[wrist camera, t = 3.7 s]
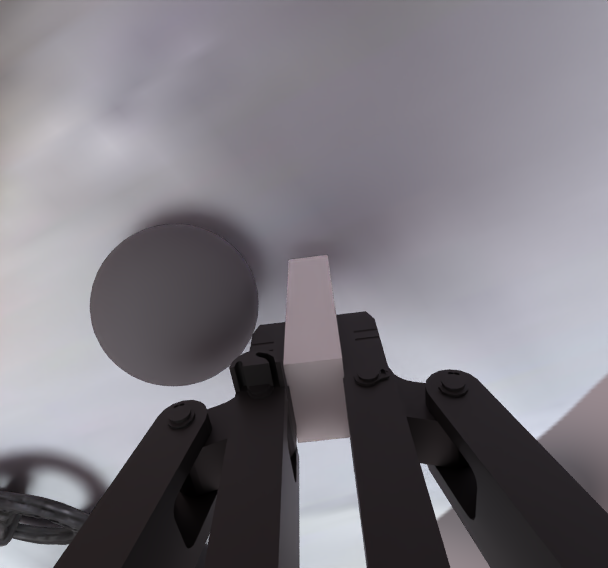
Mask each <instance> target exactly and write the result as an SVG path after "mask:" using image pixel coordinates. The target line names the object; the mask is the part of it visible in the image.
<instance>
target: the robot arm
mask: <svg viewBox="0 0 608 568" xmlns="http://www.w3.org/2000/svg"><path fill="white" fill-rule="evenodd" d="M229 369H230V372H231V376H232V380H233V384H234V388H235V392H236V394H235V397H234V398H233V399H231V400H230V401H228V402H226V403H223V404H221V405H219V406H216V407H213V408H210V409H206V406H205V405H204V404H203V403H201V402H199V401H195V400H186V401H181V402H178V403H175V404H173V405H171V406H169V407H168V408H166V409H165V410H164V411H163V412H162V413H161V414H160V415H159V416H158V417H157V419H156V420H155V422H154V423H153V424H152V426H151V427H150V429H149V430H148V432H147V433H146V435H145V436H144V437H143V439H142V440H141V442H140V443H139V445H138V446H137V448H136V449H135V450H134V452H133V453H132V455H131V456H130V458H129V459H128V461H127V462H126V463H125V465H124V466H123V468H122V469H121V471H120V472H119V474H118V475H117V476H116V478H115V479H114V481H113V482H112V484H111V485H110V487H109V488H108V489H107V491H106V492H105V494H104V495H103V497H102V498H101V499H100V501H99V502H98V504H97V505H96V507H95V508H94V510H93V511H92V512H91V514H90V515H89V517H88V518H87V520H86V521H85V523H84V524H83V525H82V527H81V528H80V530H79V531H78V533H77V534H76V536H75V537H74V538H73V540H72V541H71V543H70V544H69V546H68V547H67V549H66V550H65V551H64V553H63V554H62V556H61V557H60V559H59V560H58V562H57V563H56V564H55V566H54V567H53V568H195V566H196V564H197V562H198V559H199V557H200V555H201V552H202V550H203V548H204V545H205V543H206V540H207V538H208V536H209V533H210V536H209V542H208V547H207V553H206V558H205V564H204V568H299V455H298V450H297V445H296V438H297V439H298V443H301V442H311V441H320V440H329V439H339V438H348V437H350V441H351V449H352V457H353V466H354V472H355V480H356V488H357V496H358V503H359V511H360V519H361V527H362V534H363V542H364V550H365V558H366V565H367V568H450V565H449V562H448V558H447V555H446V551H445V548H444V544H443V541H442V538H441V534H440V531H439V528H438V524H437V520H436V517H435V514H434V510H433V507H432V503H431V500H430V496H429V493H428V490H427V486H426V483H425V479H424V476H423V472H422V469H421V466H420V463H423V464H427V465H428V468H429V470H430V472H431V474H432V475H433V477H434V478H435V480H436V482H437V483H438V485H439V486H440V488H441V489H442V491H443V493H444V494H445V496H446V497H447V499H448V501H449V502H450V504H451V505H452V507H453V509H454V510H455V512H456V513H457V515H458V517H459V518H460V520H461V521H462V523H463V525H464V526H465V528H466V529H467V531H468V532H469V534H470V536H471V537H472V539H473V540H474V542H475V543H476V545H477V547H478V548H479V550H480V552H481V553H482V555H483V556H484V558H485V560H486V561H487V562H488V564H489V566H490V568H608V513H607V512H606V511H605V510H604V509H603V508H602V507H601V506H600V505H599V504H598V503H597V502H596V501H595V500H594V499H593V498H592V497H591V496H590V495H589V494H588V493H587V492H586V491H585V490H584V489H583V488H582V487H581V486H580V485H579V484H578V483H577V481H575V479H574V478H573V477H572V476H570V474H569V473H568V472H567V471H566V470H565V469H564V468H563V467H562V466H561V465H560V464H559V463H558V462H557V461H556V460H555V459H554V458H553V457H552V456H551V455H550V454H549V453H548V452H547V451H546V450H545V448H544V447H543V446H542V445H541V444H540V443H539V442H538V441H537V440H536V439H535V438H534V437H533V436H532V435H531V434H530V433H529V432H528V431H527V430H526V429H525V428H524V427H523V426H522V425H521V424H520V423H519V422H518V421H517V420H516V419H515V418H514V417H513V416H512V414H511V413H510V412H509V411H508V410H507V409H506V408H505V407H504V406H503V405H502V404H501V403H500V402H499V401H498V400H497V399H496V398H495V397H494V396H493V395H492V394H491V393H490V392H489V391H488V390H487V389H486V388H485V387H484V386H483V385H482V384H481V383H480V381H479V380H478V379H476V378H475V377H473V376H472V375H471V374H468V373H466V372H463V371H460V370H450V369H449V370H442V371H438V372H436V373H434V374H432V375H431V376H430V377H429V378H428V379H427V380H426V383H419V382H412V381H407V380H404V379H402V378H399V377H398V376H396V375H394V374H393V372H392V371H391V369H390V368H389V367H388V365H387V361H386V358H385V354H384V351H383V347H382V344H381V340H380V338H379V333H378V330H377V326H376V323H375V319H374V318H373V317H372V316H371V315H369V314H368V313H367V312H366V311H365V312H356V313H348V314H340V315H336V311H335V304H334V297H333V290H332V283H331V276H330V269H329V262H328V255H322V256H314V257H306V258H298V259H290V260H289V262H288V282H287V302H286V321H285V322H282V323H274V324H266V325H260V326H259V327H258V328H257V329H256V331H255V332H254V333H253V334H252V340H251V346H250V351H249V352H246V353H244V354H242V355H240V356H238V357H237V358H236V359H235V360H234V361H233V362H232V364H231V365H230V367H229Z"/></svg>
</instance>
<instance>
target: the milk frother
mask: <svg viewBox="0 0 608 568" xmlns="http://www.w3.org/2000/svg"><path fill="white" fill-rule="evenodd" d="M22 515H24V516H28V517H34V518H37V519H39V518H42V519H43V518H44V519H47V520H49V521H50V522H52V523H54V524H57V525H60V526H62V527H64V528H47V527H37V526H30V525H24V524H20V523H19V521H20V519H21V517H22ZM88 517H89V514H86V513H85V512H83V511H81V510H79V509H76V508H74V507H71V506H69V505H66V504H64V503H61V502H58V501H54V500H51V499H47V498H44V497H39V496H34V495H28V494H21V493H13V492H7V491H0V546H5V545H7V544H8V543H9V542H10V541H11V539H12V538H13V539H17V540H22V541H26V542H32V543H38V544H57V545H67V544H70V543H71V541H72V540H73V538H74V537H75V536H76V534H77V533H78V531H79V530H80V528H81V527H82V525H83V524H84V523H85V521H86V520H87V518H88ZM207 547H208V545H206V544H205V545H204V548H203V550H202V552H201V555H200V557H199V559H198V562H197V564H196V566H195V568H204V564H205V558H206V553H207Z"/></svg>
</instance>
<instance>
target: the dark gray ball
mask: <svg viewBox="0 0 608 568" xmlns="http://www.w3.org/2000/svg"><path fill="white" fill-rule="evenodd" d="M90 314H91V321H92V326H93V329H94V333H95V335H96V337H97V339H98V341H99V343H100V345H101V347H102V349H103V350H104V352H105V353H106V354H107V355H108V357H109V358H110V359H111V360H112V361H113V362H114V363H115V364H116V365H117V366H119V367H120V368H121V369H122V370H124V371H125V372H127V373H128V374H130V375H131V376H133V377H135V378H137V379H140V380H142V381H145V382H148V383H152V384H156V385H162V386H185V385H191V384H195V383H198V382H201V381H204V380H207V379H209V378H211V377H213V376H215V375H217V374H219V373H220V372H222V371H223V370H224V369H226V368H227V367H229V366H230V365H231V364H232V362H233V361H234V360H235V359H236V358H237V357H238V356H240V354H241V353H242V352H243V350H244V349H245V347H246V346H247V344H248V342H249V340H250V339H251V337H252V334H253V331H254V329H255V325H256V321H257V316H258V292H257V288H256V284H255V280H254V277H253V274H252V272H251V270H250V268H249V266H248V264H247V263H246V261H245V260H244V258H243V257H242V256H241V254H240V253H239V252H238V251H237V250H236V249H235V248H234V247H233V246H232V245H231V244H230V243H229V242H227V241H226V240H225V239H223V238H222V237H220V236H218V235H217V234H215V233H213V232H211V231H208V230H206V229H203V228H200V227H196V226H191V225H184V224H166V225H159V226H154V227H151V228H148V229H145V230H142V231H140V232H138V233H136V234H134V235H132V236H130V237H129V238H127V239H126V240H124V241H123V242H122V243H120V244H119V245H118V246H117V247H116V248H115V249H114V250H113V251H112V252H111V253H110V254H109V255H108V257H107V258H106V259H105V261H104V262H103V263H102V265H101V267H100V269H99V270H98V272H97V275H96V278H95V280H94V283H93V286H92V291H91V298H90Z"/></svg>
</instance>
